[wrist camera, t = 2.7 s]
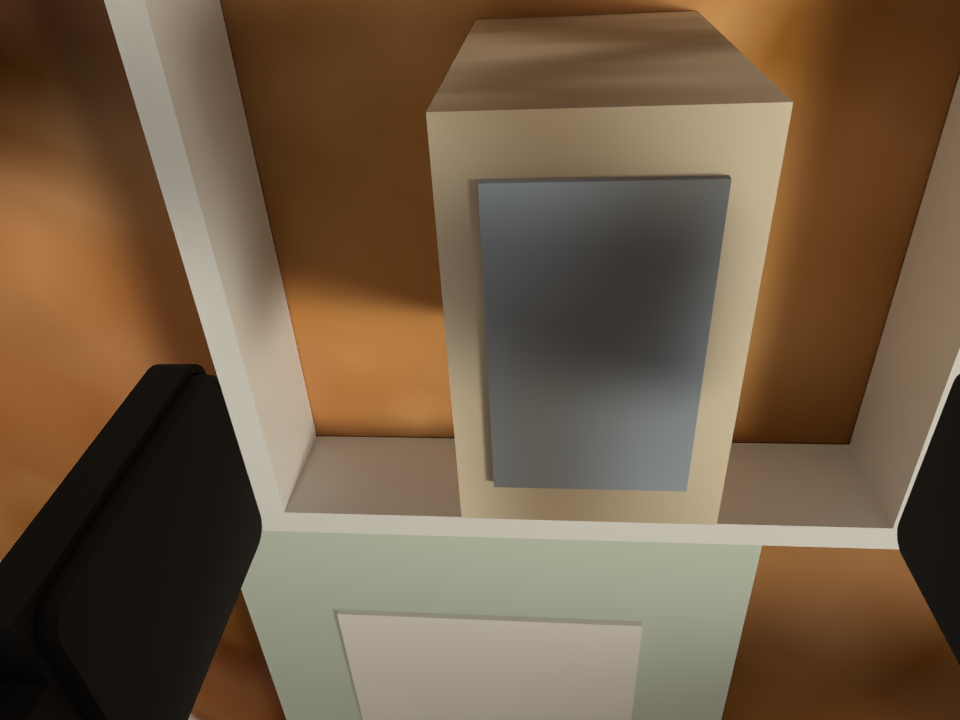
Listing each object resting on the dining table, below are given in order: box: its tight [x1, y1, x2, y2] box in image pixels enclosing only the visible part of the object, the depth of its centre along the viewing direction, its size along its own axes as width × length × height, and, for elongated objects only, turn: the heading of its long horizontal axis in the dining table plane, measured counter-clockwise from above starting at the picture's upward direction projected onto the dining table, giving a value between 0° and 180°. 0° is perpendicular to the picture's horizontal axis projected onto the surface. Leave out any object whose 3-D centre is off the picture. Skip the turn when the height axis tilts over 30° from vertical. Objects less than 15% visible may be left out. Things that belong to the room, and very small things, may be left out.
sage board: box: [241, 526, 762, 720], centre depth 29 cm, size 18×16×2 cm
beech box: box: [426, 11, 793, 525], centre depth 16 cm, size 5×8×8 cm, turn 3°
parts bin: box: [104, 0, 960, 549], centre depth 17 cm, size 19×19×4 cm
